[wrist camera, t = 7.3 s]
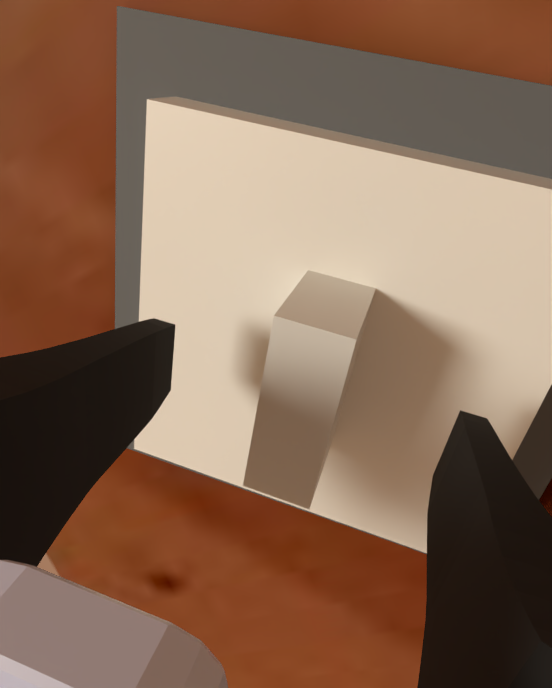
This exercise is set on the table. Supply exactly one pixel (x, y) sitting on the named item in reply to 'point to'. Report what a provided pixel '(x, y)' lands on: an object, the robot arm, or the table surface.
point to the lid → (337, 308)
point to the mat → (323, 112)
